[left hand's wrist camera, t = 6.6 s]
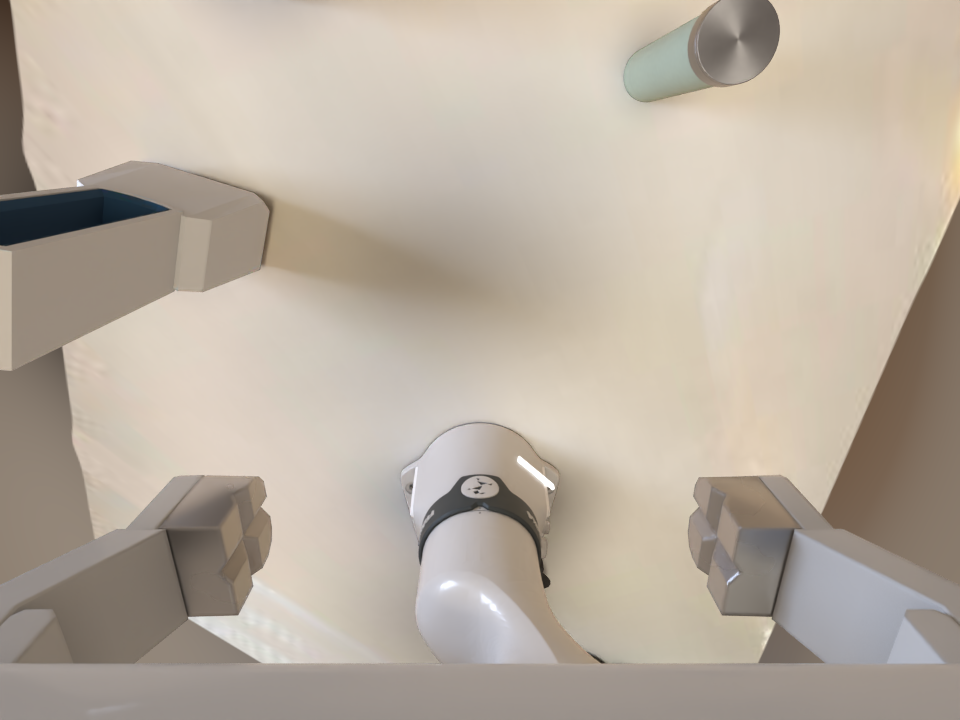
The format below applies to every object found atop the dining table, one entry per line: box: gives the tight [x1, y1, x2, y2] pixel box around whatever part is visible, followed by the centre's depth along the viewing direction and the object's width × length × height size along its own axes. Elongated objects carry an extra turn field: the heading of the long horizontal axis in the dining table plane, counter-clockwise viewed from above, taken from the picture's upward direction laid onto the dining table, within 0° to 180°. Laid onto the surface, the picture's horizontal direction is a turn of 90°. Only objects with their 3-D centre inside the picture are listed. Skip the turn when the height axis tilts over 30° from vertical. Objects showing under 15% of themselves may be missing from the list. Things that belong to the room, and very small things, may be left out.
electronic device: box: [0, 161, 270, 371], centre depth 41 cm, size 12×8×30 cm, turn 73°
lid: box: [688, 0, 780, 87], centre depth 34 cm, size 5×5×2 cm
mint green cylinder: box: [624, 15, 714, 102], centre depth 42 cm, size 4×4×18 cm
